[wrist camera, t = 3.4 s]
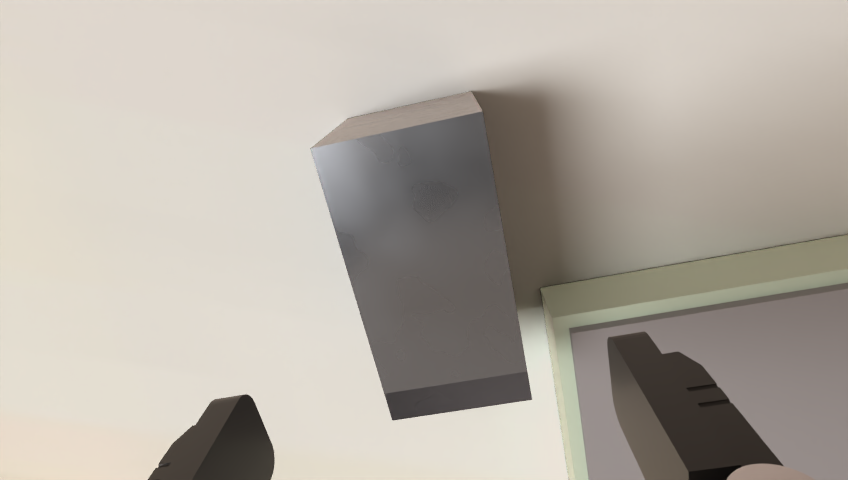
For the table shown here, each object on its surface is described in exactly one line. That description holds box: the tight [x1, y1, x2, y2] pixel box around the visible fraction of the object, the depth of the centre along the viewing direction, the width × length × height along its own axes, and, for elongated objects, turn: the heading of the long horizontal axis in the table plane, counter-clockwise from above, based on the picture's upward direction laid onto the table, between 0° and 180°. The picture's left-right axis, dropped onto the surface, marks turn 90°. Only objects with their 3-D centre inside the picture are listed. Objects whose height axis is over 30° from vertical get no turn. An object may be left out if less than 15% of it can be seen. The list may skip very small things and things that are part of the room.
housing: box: [310, 91, 532, 420], centre depth 18 cm, size 10×5×6 cm, turn 12°
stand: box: [540, 235, 848, 480], centre depth 23 cm, size 14×14×3 cm
